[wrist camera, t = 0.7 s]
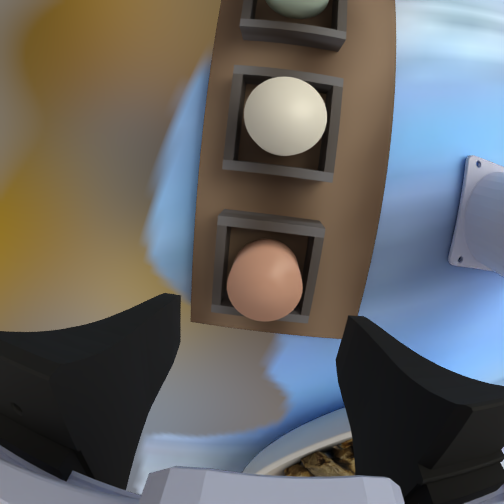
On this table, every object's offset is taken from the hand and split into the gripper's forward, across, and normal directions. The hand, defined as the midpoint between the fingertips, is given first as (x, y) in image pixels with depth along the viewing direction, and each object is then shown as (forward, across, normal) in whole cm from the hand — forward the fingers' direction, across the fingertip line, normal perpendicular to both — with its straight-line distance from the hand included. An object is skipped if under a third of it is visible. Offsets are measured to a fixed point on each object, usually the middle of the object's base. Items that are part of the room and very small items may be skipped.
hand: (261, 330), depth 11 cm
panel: (+9, -1, -8) cm, 12 cm away
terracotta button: (+6, 0, 0) cm, 6 cm away
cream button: (+6, 0, -8) cm, 10 cm away
